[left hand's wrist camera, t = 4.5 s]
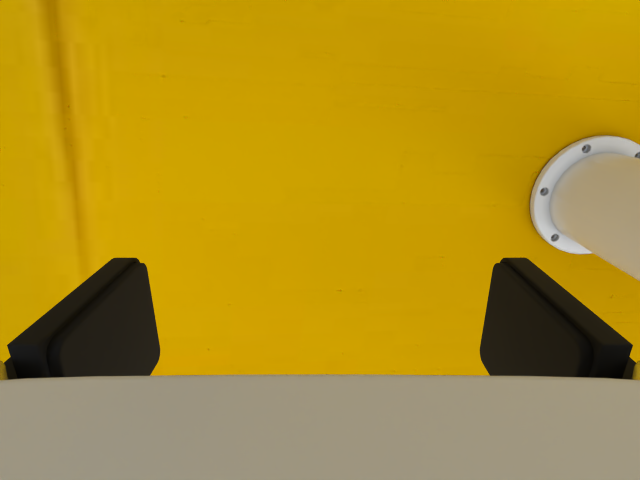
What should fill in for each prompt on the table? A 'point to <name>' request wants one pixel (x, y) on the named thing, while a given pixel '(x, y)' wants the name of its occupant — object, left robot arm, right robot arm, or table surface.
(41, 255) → the table surface
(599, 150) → the left robot arm
